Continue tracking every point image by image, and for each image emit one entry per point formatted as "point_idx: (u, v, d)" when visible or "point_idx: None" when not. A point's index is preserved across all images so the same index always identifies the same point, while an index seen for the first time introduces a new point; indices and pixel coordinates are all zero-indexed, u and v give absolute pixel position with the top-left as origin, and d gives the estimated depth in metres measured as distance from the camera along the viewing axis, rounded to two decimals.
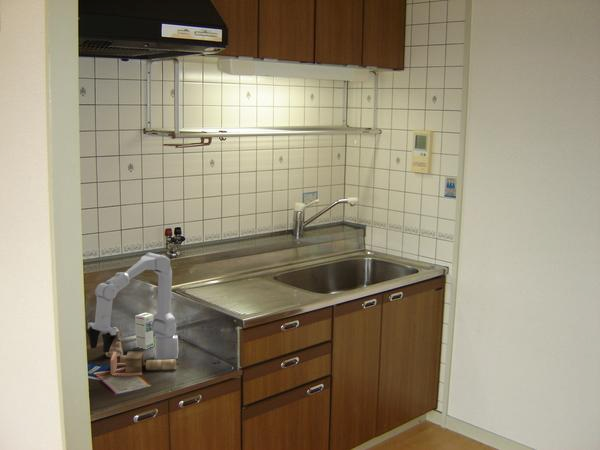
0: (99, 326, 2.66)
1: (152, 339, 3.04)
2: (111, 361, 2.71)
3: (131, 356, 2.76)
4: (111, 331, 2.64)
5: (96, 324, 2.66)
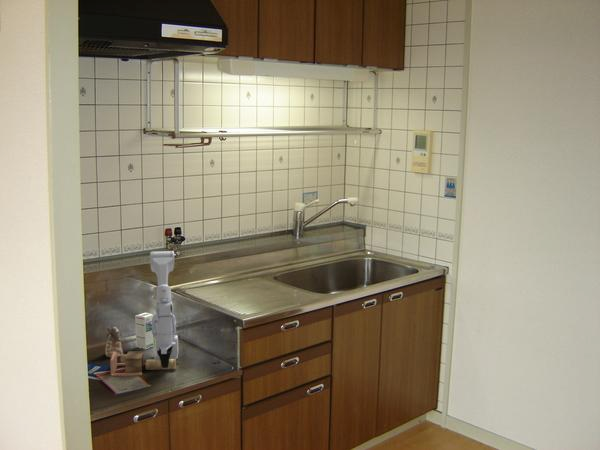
0: None
1: (152, 339, 3.04)
2: (111, 361, 2.71)
3: (131, 356, 2.76)
4: None
5: (172, 340, 2.78)
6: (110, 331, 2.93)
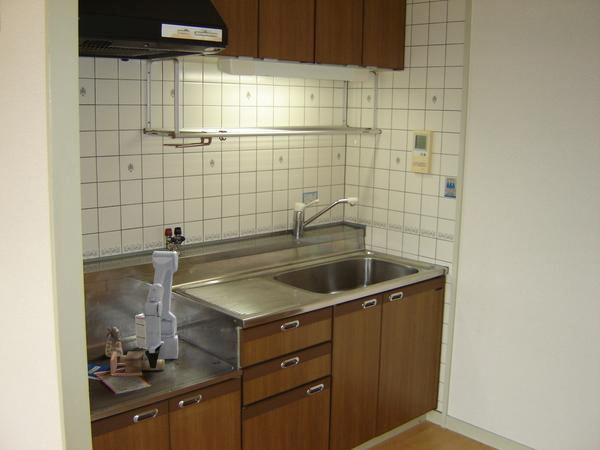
0: None
1: None
2: (111, 361, 2.71)
3: (131, 356, 2.76)
4: None
5: (160, 339, 2.77)
6: (110, 331, 2.93)
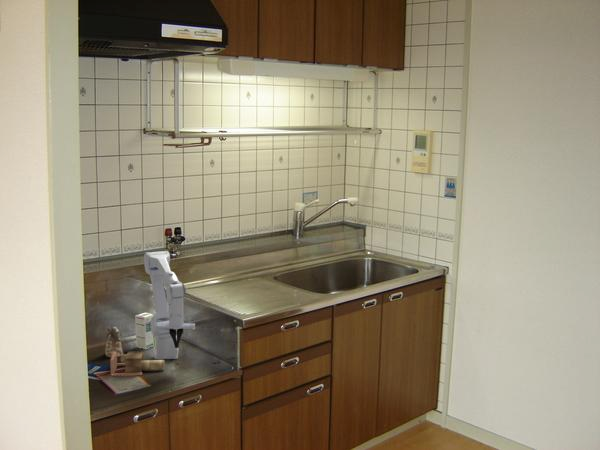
0: (179, 325, 2.75)
1: (152, 339, 3.04)
2: (111, 361, 2.71)
3: (131, 356, 2.76)
4: (193, 326, 2.77)
5: (176, 324, 2.74)
6: (110, 331, 2.93)
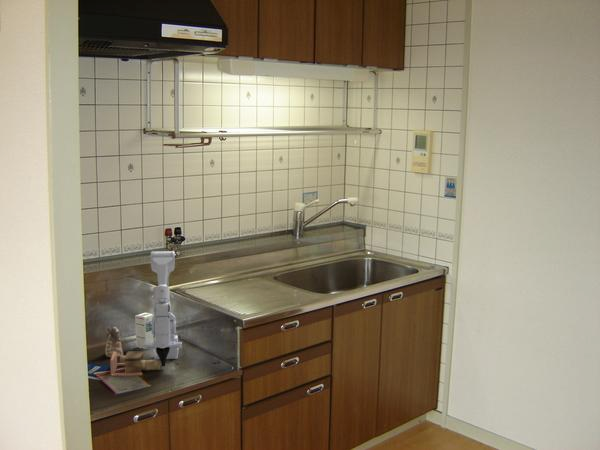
0: (166, 344, 2.75)
1: (152, 339, 3.04)
2: (111, 361, 2.71)
3: (130, 356, 2.76)
4: (180, 344, 2.77)
5: (162, 343, 2.75)
6: (110, 331, 2.93)
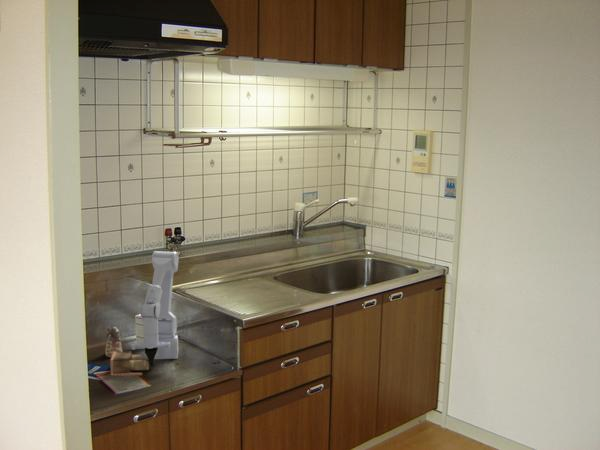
0: (154, 344, 2.75)
1: None
2: (111, 361, 2.71)
3: (119, 356, 2.75)
4: (168, 345, 2.77)
5: (150, 343, 2.74)
6: (110, 331, 2.93)
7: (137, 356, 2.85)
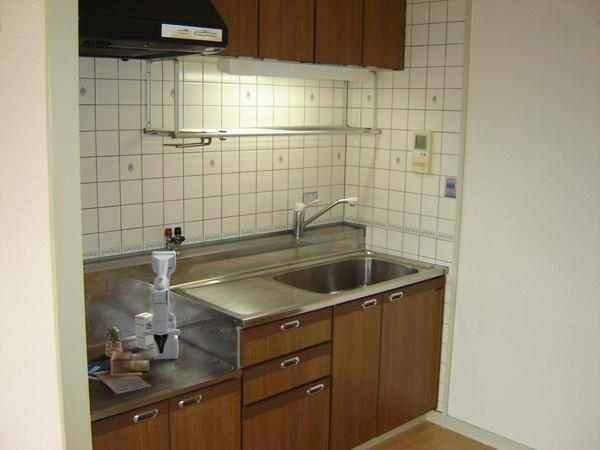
0: (164, 331, 2.74)
1: (152, 339, 3.04)
2: (111, 361, 2.71)
3: (119, 356, 2.75)
4: (178, 331, 2.76)
5: (160, 330, 2.74)
6: (110, 331, 2.93)
7: (138, 354, 2.87)
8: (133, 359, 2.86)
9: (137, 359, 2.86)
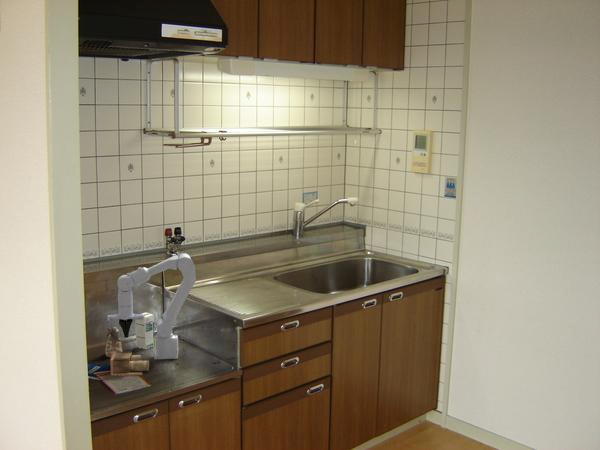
0: (128, 315, 2.85)
1: (152, 339, 3.04)
2: (111, 361, 2.71)
3: (119, 356, 2.75)
4: (142, 316, 2.87)
5: (125, 315, 2.84)
6: (110, 331, 2.93)
7: (137, 357, 2.85)
8: None
9: None
